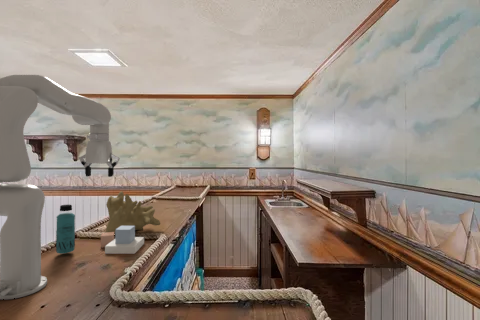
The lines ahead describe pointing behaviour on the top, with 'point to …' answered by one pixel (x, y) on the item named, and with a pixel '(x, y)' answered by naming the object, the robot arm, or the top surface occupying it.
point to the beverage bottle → (65, 230)
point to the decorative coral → (128, 213)
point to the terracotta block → (106, 238)
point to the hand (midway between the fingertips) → (99, 176)
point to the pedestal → (124, 247)
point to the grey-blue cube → (124, 234)
